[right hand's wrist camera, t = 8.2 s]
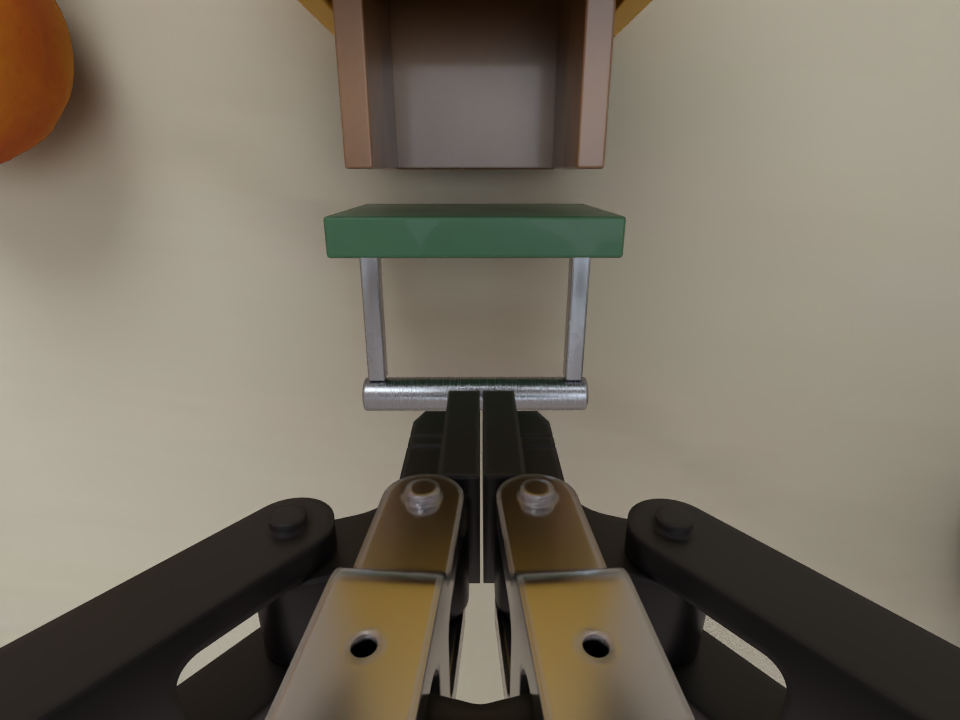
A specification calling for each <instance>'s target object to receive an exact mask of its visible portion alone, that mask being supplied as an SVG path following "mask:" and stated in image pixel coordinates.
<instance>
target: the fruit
mask: <svg viewBox="0 0 960 720" xmlns="http://www.w3.org/2000/svg"><path fill="white" fill-rule="evenodd" d="M73 78H74V60H73V49H72V43H71V38H70V34H69V30H68V27H67V24H66V22H65V19H64V17H63V15H62V12H61V10H60V8H59V6H58V4H57V3H56V1H55V0H0V164H1V163H3V162H6V161H9V160H11V159H12V158H14V157H16V156H17V155H19V154H21V153H23V152H25V151H27V150H29V149H31V148H33V147H34V146H35V145H37V144H38V143H39V142H41V141H42V140H44V139H45V138H46V137H47V136H48V135H49V134H50V133H51V132H52V130H53V129H54V127H55V126H56V124H57V122H58V120H59V118H60V116H61V115H62V113H63V111H64V109H65V106H66V105H67V103H68V101H69V99H70V95H71V91H72V88H73Z"/></svg>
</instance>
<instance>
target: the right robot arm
mask: <svg viewBox="0 0 960 720" xmlns="http://www.w3.org/2000/svg"><path fill="white" fill-rule="evenodd" d="M483 581H484V583H495V627H496V635H497V643H498V651H499V659H500V667H501V675H502V683H503V691H504V699H503V700H500V701H496V702H492V703H488V704H472V703H468V702H464V701H460V700H457V699H456V691H457V683H458V675H459V667H460V659H461V651H462V643H463V635H464V627H465V607H466V605H467V603H468V597H469V583H480V391H449V392H448V400H447V407H446V411H425V412H424V413H423V414H422V415H421V416H420V417H419V418H418V419H416V420H415V421H414V423H413V427H412V431H411V437H410V439H409V443H408V448H407V451H406V455H405V459H404V463H403V467H402V472H401V476H400V480H398V481H396V482H394V483H393V484H391V485H390V486H389V487H388V488H387V489H386V490H385V492H384V494H383V496H382V498H381V501H380V503H379V506H378V508H376V509H374V510H372V511H369V512H366V513H363V514H359V515H355V516H350V517H345V518H341V519H336V520H334V513H333V510H332V509H331V507H330V506H329V505H327V504H326V503H324V502H322V501H320V500H317V499H312V498H292V499H286V500H282V501H278V502H276V503H273V504H270V505H268V506H266V507H264V508H262V509H260V510H258V511H257V512H255V513H253V514H251V515H249V516H247V517H245V518H243V519H242V520H240V521H238V522H236V523H234V524H232V525H230V526H228V527H227V528H225V529H223V530H221V531H219V532H217V533H215V534H213V535H212V536H210V537H208V538H206V539H204V540H202V541H200V542H198V543H197V544H195V545H193V546H191V547H189V548H187V549H185V550H183V551H182V552H180V553H178V554H176V555H174V556H172V557H170V558H168V559H167V560H165V561H163V562H161V563H159V564H157V565H155V566H153V567H152V568H150V569H148V570H146V571H144V572H142V573H140V574H138V575H136V576H135V577H133V578H131V579H129V580H127V581H125V582H123V583H121V584H120V585H118V586H116V587H114V588H112V589H110V590H108V591H106V592H105V593H103V594H101V595H99V596H97V597H95V598H93V599H91V600H90V601H88V602H86V603H84V604H82V605H80V606H78V607H76V608H75V609H73V610H71V611H69V612H67V613H65V614H63V615H61V616H60V617H58V618H56V619H54V620H52V621H50V622H48V623H46V624H45V625H43V626H41V627H39V628H37V629H35V630H33V631H31V632H30V633H28V634H26V635H24V636H22V637H20V638H18V639H16V640H15V641H13V642H11V643H9V644H7V645H5V646H3V647H1V648H0V720H960V648H959V647H957V646H955V645H953V644H951V643H949V642H947V641H945V640H944V639H942V638H940V637H938V636H936V635H934V634H932V633H930V632H929V631H927V630H925V629H923V628H921V627H919V626H917V625H915V624H914V623H912V622H910V621H908V620H906V619H904V618H902V617H900V616H899V615H897V614H895V613H893V612H891V611H889V610H887V609H885V608H884V607H882V606H880V605H878V604H876V603H874V602H872V601H870V600H869V599H867V598H865V597H863V596H861V595H859V594H857V593H855V592H854V591H852V590H850V589H848V588H846V587H844V586H842V585H840V584H839V583H837V582H835V581H833V580H831V579H829V578H827V577H825V576H824V575H822V574H820V573H818V572H816V571H814V570H812V569H810V568H809V567H807V566H805V565H803V564H801V563H799V562H797V561H795V560H794V559H792V558H790V557H788V556H786V555H784V554H782V553H780V552H778V551H777V550H775V549H773V548H771V547H769V546H767V545H765V544H763V543H762V542H760V541H758V540H756V539H754V538H752V537H750V536H748V535H747V534H745V533H743V532H741V531H739V530H737V529H735V528H733V527H732V526H730V525H728V524H726V523H724V522H722V521H720V520H718V519H717V518H715V517H713V516H711V515H709V514H707V513H705V512H703V511H702V510H700V509H698V508H696V507H694V506H692V505H689V504H686V503H683V502H680V501H676V500H670V499H650V500H645V501H642V502H640V503H638V504H636V505H635V506H633V507H632V509H631V510H630V511H629V514H628V519H624V518H620V517H615V516H610V515H606V514H602V513H598V512H596V511H593V510H590V509H588V508H586V507H584V506H583V505H581V503H580V501H579V498H578V496H577V494H576V492H575V490H574V489H573V488H572V487H571V486H570V485H569V484H567V483H566V482H564V478H563V474H562V470H561V466H560V462H559V458H558V454H557V451H556V447H555V443H554V439H553V437H552V431H551V427H550V423H549V421H548V420H546V419H545V418H544V417H543V416H542V415H541V414H540V413H539V412H538V411H517V408H516V401H515V394H514V390H483ZM257 612H258V616H259V621H260V626H261V627H260V628H258V629H257V630H256V631H254V632H253V633H251V634H250V635H248V636H247V637H246V638H244V639H243V640H241V641H240V642H239V643H237V644H236V645H234V646H233V647H232V648H230V649H229V650H227V651H226V652H224V653H223V654H222V655H220V656H219V657H217V658H216V659H215V660H213V661H212V662H210V663H209V664H208V665H206V666H205V667H203V668H202V669H201V670H199V671H198V672H196V673H195V674H193V675H192V676H191V677H189V678H188V679H186V680H185V681H184V682H182V683H181V684H179V685H178V686H177V681H178V678H179V676H180V673H181V672H182V670H183V668H184V667H185V666H186V664H187V663H188V662H189V661H190V660H191V659H192V658H193V657H194V656H195V655H196V654H197V653H199V652H200V651H201V650H203V649H204V648H206V647H207V646H209V645H210V644H212V643H213V642H215V641H216V640H217V639H219V638H220V637H222V636H223V635H225V634H226V633H228V632H229V631H231V630H232V629H234V628H235V627H236V626H238V625H239V624H241V623H242V622H244V621H245V620H247V619H248V618H250V617H251V616H253V615H254V614H255V613H257ZM706 615H708V616H709V617H710V618H712V619H713V620H715V621H716V622H718V623H719V624H721V625H722V626H724V627H725V628H727V629H728V630H729V631H731V632H732V633H734V634H735V635H737V636H738V637H740V638H741V639H743V640H744V641H746V642H747V643H748V644H750V645H751V646H753V647H754V648H756V649H757V650H759V651H760V652H762V653H763V654H764V655H766V656H767V657H768V658H769V659H770V660H771V661H772V662H773V663H774V664H775V665H776V666H777V668H778V669H779V670H780V672H781V674H782V675H783V677H784V680H785V682H786V686H787V689H786V688H785V687H783V686H782V685H781V684H779V683H778V682H776V681H775V680H774V679H772V678H771V677H769V676H768V675H767V674H765V673H764V672H762V671H761V670H759V669H758V668H757V667H755V666H754V665H752V664H751V663H750V662H748V661H747V660H745V659H744V658H743V657H741V656H740V655H738V654H737V653H736V652H734V651H733V650H731V649H730V648H728V647H727V646H726V645H724V644H723V643H721V642H720V641H719V640H717V639H716V638H714V637H713V636H712V635H710V634H709V633H707V632H706V631H704V630H703V626H704V621H705V616H706Z"/></svg>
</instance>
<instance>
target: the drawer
mask: <svg viewBox="0 0 960 720" xmlns="http://www.w3.org/2000/svg"><path fill="white" fill-rule="evenodd" d="M332 6H333V19H334V31H335V44H336V56H337V69H338V82H339V94H340V107H341V120H342V132H343V145H344V158H345V167H346V168H347V169H601V168H603V167H604V159H605V145H606V131H607V118H608V104H609V90H610V77H611V63H612V49H613V35H614V22H615V8H616V0H332ZM625 223H626V219H625V217H623V216H620V215H617V214H614V213H610V212H607V211H604V210H601V209H597V208H594V207H591V206H588V205H584V204H366V205H363V206H359V207H356V208H353V209H349V210H346V211H343V212H340V213H336V214H333V215H330V216H326V217H324V229H325V240H326V251H327V256H328V257H329V258H360V270H361V284H362V297H363V311H364V324H365V337H366V351H367V364H368V378H366V379H365V381H364V384H363V405H364V408H365V410H367V411H446V407H447V400H448V392H449V391H480V410H483V390H514V394H515V401H516V408H517V410H585V409H586V407H587V404H588V385H587V381H586V378H585V377H582V373H583V358H584V343H585V329H586V314H587V300H588V285H589V271H590V258H620V257H622V255H623V245H624V234H625ZM381 258H570V259H569V277H568V295H567V313H566V331H565V349H564V367H563V375H564V377H387V375H388V370H387V354H386V338H385V322H384V305H383V289H382V273H381Z"/></svg>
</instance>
